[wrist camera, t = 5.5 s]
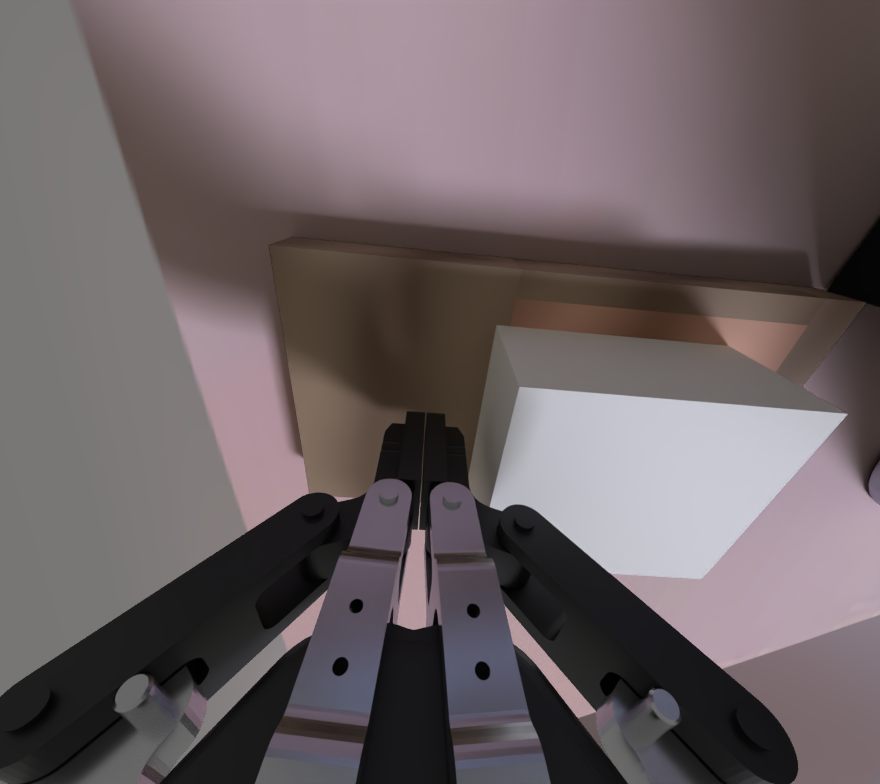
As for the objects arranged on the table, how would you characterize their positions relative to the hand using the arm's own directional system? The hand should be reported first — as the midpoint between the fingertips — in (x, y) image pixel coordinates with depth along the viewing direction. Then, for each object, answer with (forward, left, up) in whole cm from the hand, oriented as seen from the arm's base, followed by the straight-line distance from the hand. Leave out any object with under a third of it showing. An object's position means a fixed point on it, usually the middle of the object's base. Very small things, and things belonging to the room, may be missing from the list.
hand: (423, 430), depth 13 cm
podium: (-5, 0, -4) cm, 6 cm away
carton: (-7, 0, -2) cm, 7 cm away
